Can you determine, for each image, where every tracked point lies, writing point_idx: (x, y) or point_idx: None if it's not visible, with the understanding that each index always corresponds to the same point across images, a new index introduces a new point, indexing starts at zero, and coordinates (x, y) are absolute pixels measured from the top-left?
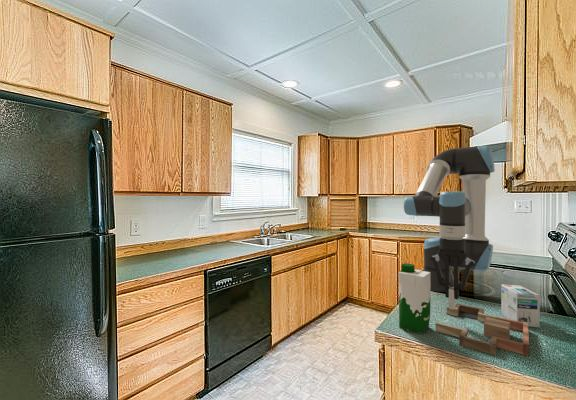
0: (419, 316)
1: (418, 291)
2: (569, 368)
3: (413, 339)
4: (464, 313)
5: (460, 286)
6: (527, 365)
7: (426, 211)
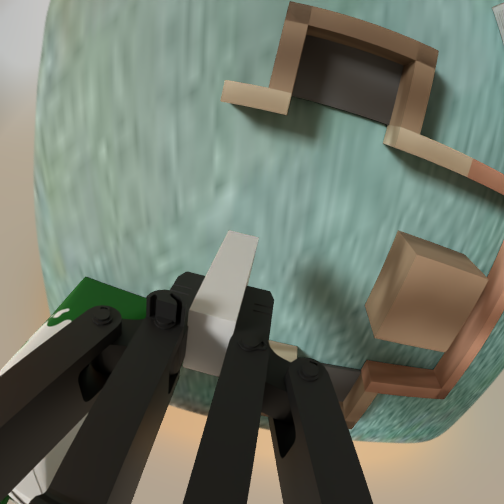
0: None
1: None
2: (484, 389)
3: None
4: (328, 63)
5: (271, 420)
6: (404, 417)
7: None
